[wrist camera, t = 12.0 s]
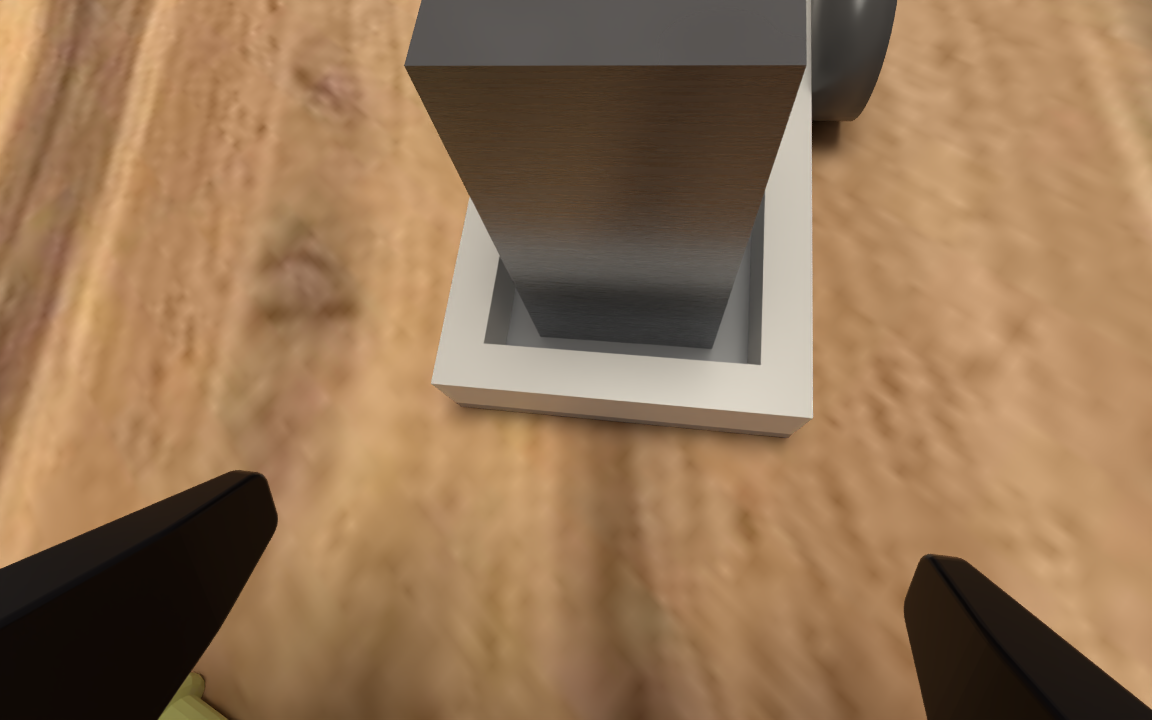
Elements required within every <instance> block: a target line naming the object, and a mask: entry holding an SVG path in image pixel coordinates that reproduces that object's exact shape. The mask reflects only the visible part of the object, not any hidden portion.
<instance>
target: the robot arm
mask: <svg viewBox="0 0 1152 720" xmlns="http://www.w3.org/2000/svg"><path fill="white" fill-rule="evenodd" d="M277 522H278V515H277V511H276V507H275V504H274V501H273V498H272V494H271V491H270V488H269V484H268V481H267V479H266V478H265V476H264V475H263V474H260V473H258V472H251V471H242V470H235V471H231V472H228V473H225V474H223V475H221V476H218V477H216V478H214V479H211V480H209V481H207V482H204V483H202V484H200V485H197V486H195V487H192V488H190V489H188V490H185V491H183V492H181V493H178V494H176V495H174V496H171V497H169V498H166V499H164V500H162V501H159V502H157V503H155V504H152V505H150V506H148V507H145V508H143V509H141V510H138V511H136V512H133V513H131V514H129V515H126V516H124V517H122V518H119V519H117V520H115V521H112V522H110V523H107V524H105V525H103V526H100V527H98V528H96V529H93V530H91V531H89V532H86V533H84V534H81V535H79V536H77V537H74V538H72V539H70V540H67V541H65V542H63V543H60V544H58V545H56V546H53V547H51V548H48V549H46V550H44V551H41V552H39V553H37V554H34V555H32V556H30V557H27V558H25V559H22V560H20V561H18V562H15V563H13V564H11V565H8V566H6V567H4V568H1V569H0V720H158V719H159V717H160V716H161V715H162V713H163V712H164V710H165V709H166V707H167V706H168V704H169V703H170V701H171V700H172V699H173V697H174V696H175V694H176V693H177V691H178V690H179V688H180V687H181V685H182V684H183V682H184V681H185V680H186V678H187V677H188V675H189V674H190V672H191V671H192V669H193V668H194V666H195V665H196V664H197V662H198V661H199V659H200V658H201V656H202V655H203V653H204V652H205V650H206V649H207V648H208V646H209V645H210V643H211V642H212V640H213V638H214V637H215V635H216V634H217V632H218V631H219V629H220V628H221V626H222V624H223V623H224V621H225V619H226V618H227V616H228V614H229V613H230V611H231V609H232V607H233V606H234V604H235V602H236V600H237V598H238V597H239V595H240V593H241V591H242V590H243V588H244V586H245V584H246V582H247V581H248V579H249V577H250V575H251V574H252V572H253V570H254V568H255V566H256V565H257V563H258V561H259V559H260V558H261V556H262V554H263V552H264V550H265V549H266V547H267V545H268V543H269V542H270V540H271V538H272V536H273V535H274V532H275V530H276V527H277ZM904 618H905V623H906V628H907V632H908V637H909V641H910V645H911V650H912V654H913V659H914V663H915V667H916V672H917V676H918V681H919V685H920V689H921V694H922V698H923V703H924V707H925V711H926V716H927V720H1152V709H1150V708H1149V707H1148V706H1147V705H1145V704H1144V703H1143V702H1142V701H1140V700H1139V699H1138V698H1137V697H1135V696H1134V695H1133V694H1132V693H1130V692H1129V691H1128V690H1127V689H1125V688H1124V687H1123V686H1122V685H1120V684H1119V683H1118V682H1117V681H1115V680H1114V679H1113V678H1112V677H1110V676H1109V675H1108V674H1107V673H1105V672H1104V671H1103V670H1102V669H1100V668H1099V667H1098V666H1097V665H1095V664H1094V663H1093V662H1092V661H1090V660H1089V659H1088V658H1087V657H1085V656H1084V655H1083V654H1082V653H1080V652H1079V651H1078V650H1077V649H1076V648H1074V647H1073V646H1072V645H1071V644H1069V643H1068V642H1067V641H1066V640H1064V639H1063V638H1062V637H1061V636H1059V635H1058V634H1057V633H1056V632H1054V631H1053V630H1052V629H1051V628H1049V627H1048V626H1047V625H1046V624H1044V623H1043V622H1042V621H1041V620H1039V619H1038V618H1037V617H1036V616H1034V615H1033V614H1032V613H1031V612H1029V611H1028V610H1027V609H1026V608H1024V607H1023V606H1022V605H1021V604H1019V603H1018V602H1017V601H1016V600H1014V599H1013V598H1012V597H1011V596H1009V595H1008V594H1007V593H1006V592H1004V591H1003V590H1002V589H1001V588H999V587H998V586H997V585H996V584H994V583H993V582H992V581H991V580H989V579H988V578H987V577H986V576H984V575H983V574H982V573H981V572H979V571H978V570H977V569H976V568H974V567H973V566H972V565H971V564H969V563H968V562H967V561H965V560H963V559H961V558H958V557H952V556H944V555H935V554H927V555H924V556H923V557H922V558H921V559H920V561H919V563H918V566H917V568H916V571H915V574H914V576H913V579H912V581H911V584H910V587H909V589H908V592H907V595H906V597H905V601H904Z"/></svg>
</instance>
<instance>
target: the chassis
mask: <svg viewBox="0 0 1152 720" xmlns="http://www.w3.org/2000/svg"><path fill="white" fill-rule="evenodd" d="M896 5H897V0H806V44H807V66H806V69H805V72H804V75H803V78H802V81H801V84H800V87H799V90H798V93H797V96H796V99H795V102H794V105H793V108H792V111H791V114H790V117H789V120H788V123H787V126H786V129H785V132H784V135H783V138H782V141H781V144H780V147H779V150H778V153H777V156H776V159H775V162H774V165H773V168H772V171H771V174H770V177H769V180H768V183H767V186H766V189H765V192H764V195H763V198H762V201H761V204H760V207H759V210H758V213H757V216H756V219H755V222H754V225H753V228H752V231H751V234H750V237H749V240H748V243H747V246H746V249H745V252H744V255H743V258H742V261H741V264H740V267H739V270H738V273H737V276H736V279H735V282H734V285H733V288H732V291H731V294H730V297H729V300H728V303H727V306H726V309H725V312H724V315H723V318H722V321H721V324H720V327H719V330H718V333H717V336H716V339H715V342H714V345H713V348H712V349H704V348H690V347H676V346H662V345H648V344H634V343H620V342H606V341H592V340H578V339H564V338H550V337H540V335H539V333H538V331H537V329H536V327H535V325H534V323H533V321H532V319H531V317H530V315H529V313H528V311H527V309H526V307H525V305H524V303H523V301H522V299H521V297H520V295H519V293H518V291H517V289H516V287H515V285H514V283H513V281H512V279H511V277H510V275H509V273H508V271H507V269H506V267H505V265H504V263H503V261H502V259H501V257H500V255H499V253H498V251H497V249H496V247H495V245H494V243H493V241H492V239H491V237H490V235H489V233H488V231H487V229H486V227H485V225H484V224H483V222H482V220H481V218H480V216H479V214H478V212H477V210H476V208H475V206H474V204H473V202H472V200H471V198H469V203H468V208H467V213H466V217H465V222H464V227H463V232H462V237H461V241H460V246H459V251H458V256H457V261H456V266H455V270H454V275H453V280H452V285H451V290H450V294H449V299H448V304H447V309H446V314H445V318H444V323H443V328H442V333H441V338H440V343H439V347H438V352H437V357H436V362H435V367H434V371H433V376H432V381H431V384H432V385H434V386H435V387H436V388H437V389H439V390H440V391H441V392H443V393H444V394H445V395H447V396H448V397H449V398H451V399H452V400H453V401H455V402H456V403H457V404H459V405H460V406H462V407H472V408H483V409H493V410H504V411H514V412H524V413H535V414H545V415H555V416H566V417H576V418H587V419H597V420H607V421H618V422H628V423H639V424H649V425H659V426H670V427H680V428H691V429H701V430H711V431H722V432H732V433H742V434H753V435H763V436H774V437H784V438H788V437H789V436H791V435H792V434H793V433H794V432H796V431H797V430H798V429H800V428H801V427H802V426H803V425H805V424H806V423H807V422H809V421H810V420H811V419H812V418H813V325H812V121H853V120H855V119H856V118H857V117H858V116H859V115H860V114H861V112H862V111H863V109H864V108H865V106H866V104H867V102H868V100H869V98H870V96H871V94H872V92H873V90H874V87H875V85H876V82H877V79H878V77H879V74H880V71H881V68H882V65H883V62H884V58H885V55H886V51H887V48H888V44H889V40H890V36H891V31H892V27H893V22H894V17H895V11H896Z"/></svg>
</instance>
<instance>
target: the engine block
mask: <svg viewBox="0 0 1152 720" xmlns="http://www.w3.org/2000/svg"><path fill="white" fill-rule="evenodd" d="M404 66H405V68H406V70H407V72H408V74H409V76H410V78H411V80H412V82H413V84H414V86H415V88H416V90H417V92H418V94H419V96H420V98H421V100H422V102H423V104H424V106H425V108H426V110H427V112H428V114H429V116H430V118H431V120H432V122H433V124H434V126H435V128H436V130H437V132H438V134H439V136H440V138H441V140H442V142H443V144H444V146H445V148H446V150H447V152H448V154H449V156H450V158H451V160H452V162H453V164H454V166H455V168H456V170H457V172H458V174H459V176H460V178H461V180H462V182H463V184H464V186H465V188H466V190H467V192H468V194H469V196H470V198H471V200H472V202H473V204H474V206H475V208H476V210H477V212H478V214H479V216H480V218H481V220H482V222H483V224H484V225H485V227H486V229H487V231H488V233H489V235H490V237H491V239H492V241H493V243H494V245H495V247H496V249H497V251H498V253H499V255H500V257H501V259H502V261H503V263H504V265H505V267H506V269H507V271H508V273H509V275H510V277H511V279H512V281H513V283H514V285H515V287H516V289H517V291H518V293H519V295H520V297H521V299H522V301H523V303H524V305H525V307H526V309H527V311H528V313H529V315H530V317H531V319H532V321H533V323H534V325H535V327H536V329H537V331H538V333H539V335H540V337H550V338H564V339H578V340H592V341H606V342H620V343H634V344H648V345H662V346H676V347H690V348H704V349H712V348H713V345H714V342H715V339H716V336H717V333H718V330H719V327H720V324H721V321H722V318H723V315H724V312H725V309H726V306H727V303H728V300H729V297H730V294H731V291H732V288H733V285H734V282H735V279H736V276H737V273H738V270H739V267H740V264H741V261H742V258H743V255H744V252H745V249H746V246H747V243H748V240H749V237H750V234H751V231H752V228H753V225H754V222H755V219H756V216H757V213H758V210H759V207H760V204H761V201H762V198H763V195H764V192H765V189H766V186H767V183H768V180H769V177H770V174H771V171H772V168H773V165H774V162H775V159H776V156H777V153H778V150H779V147H780V144H781V141H782V138H783V135H784V132H785V129H786V126H787V123H788V120H789V117H790V114H791V111H792V108H793V105H794V102H795V99H796V96H797V93H798V90H799V87H800V84H801V81H802V78H803V75H804V72H805V69H806V66H807V44H806V0H422V1H421V5H420V8H419V12H418V16H417V20H416V24H415V27H414V31H413V35H412V39H411V42H410V46H409V50H408V54H407V57H406V61H405V65H404Z"/></svg>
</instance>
